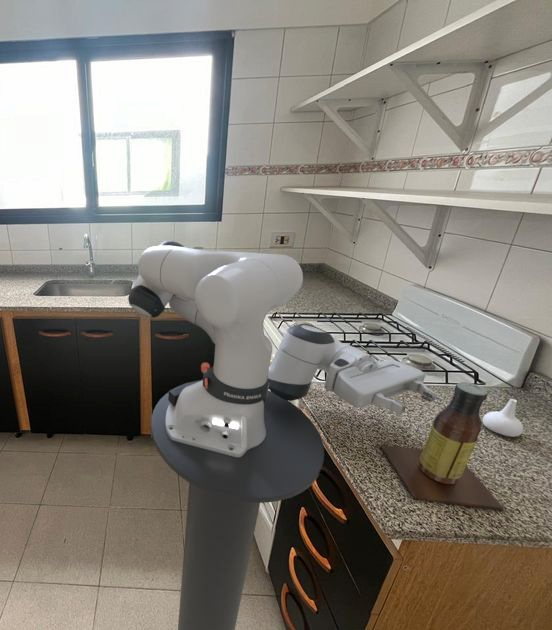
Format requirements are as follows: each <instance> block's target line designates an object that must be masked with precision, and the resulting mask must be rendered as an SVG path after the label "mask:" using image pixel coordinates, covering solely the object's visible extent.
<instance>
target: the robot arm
mask: <svg viewBox="0 0 552 630" xmlns="http://www.w3.org/2000/svg"><path fill="white" fill-rule="evenodd" d="M137 270H138V271H137V272H138V277H136V281H135V282H134V284H133V287H132V288H131V289H130V291H129V294H128V296H127V297H128V298H127V301H128V304H129V306H130V307H131V308H132V309H133V311H135V312H136V313H137V314H138V315H141V316H143V317H145V318H151V319H152V318H154V319H155V318H158V317H159V316H161V314H162V313H163V312H165V310H166V306H167V305H169V308H170V310H172V311H173V312H174V313H175V314H177V316H179V317H181V318H182V319H184V320H186V321H187V322H189V323H191V324H193V325H195V326H197V327H198V328H201V329H202V330H203V331H204V332H206V334H207V335H208V336H209V338H210V340H211V345H212V347H213V348H214V357H213V359H214V360H213V366H211V365H210V363H208V362H202V363H201V365H200V371H201V373H202V379H200V380H201V381H199V380H198V381H199V382H197V383H195V384H192V385H190V386H187V387H185V386H181V385H180V386H181V387H178V386H177V387H178V388H176V387H175V389H174V388H172V389H170V390H168V392H169V397H168V401H170V402H171V403H170V405H169V407H168V409H167V412H166V418H165V427H166V432H167V434H168V436H169V437H170V439H171V440H173V441H177V442H180V443H184V444H188V445H192V446H195V447H199V448H203V449H207V450H210V451H214V452H218V453H222V454H226V455H229V456H233V457H241V456H243V455H244V454H245V453H246V451H247V450H249V449H251V448H253V447H256V446H257V445H259V444H260V443H262V441H263V440H264V438H265V436H266V429H265V424H264V403H265V401H266V397H267V395H268V390H269V391H271V392H273V393H274V394H275V395H277V396H279V397H280V398H282V399H285V400H288V401H289V402H292V401H297V400H300V399H302V398H305V397H307V395H308V393H309V390H310V388H311V385H312V381H313V379H314V377H315V375H316V373H317V371H318V370H320V371H323V372H325V373H326V377H325V382H324V389H325V390H326V391H328V392H331V393H334V395H335V396H336V397H338V398H340V399H341V400H342V401H344V402H346V403H347V404H349V405H351V406H353V407H357V408H365V407H368V406H370V405H375V406H377V407H379V408H383V409H386V410H387V409H388V410H391V411H393V412H394V413H396V414H402V413H404V412H405V411H406V409H407V405H406V404H405V403H404V402H401V401H400V400H398V399H396V400H393V399H391V398H393V397H396V396H399V395H401V394H404V393H407V392H410V391H412V392H414V393H418V394H420V395H421V396H420V398H421V399H423V400H425V401H427V402H433V401H435V400H436V399H437V397H438V393H437V392H435V391H434V390H431V389H430V388H428V387H427V386H426V384H425V383H424V381H425V378H426V374H425V372H423V370H421V369H419V368H416V367H414V366H412V365H408V364H406V363H405V362H401V361H398V360H394V359H385V360H383V359H380V360H378V361H376V360H375V357H374V356H373V355H371V354H369V353H367V352H365V351H363V350H362V349H359V348H357V347H355V346H353V345H350V344H345V343H343V342H342V341H340V339H338V338H336V337H335V336H332V334H331V333H330V332H328V331H326V330H324V329H322V328H320V327H317V326H315V325H312V324H310V323H299V324H296V325H292V326H291V327H288V328H287V329H286V331H285V333H284V334H283V337H282V339H281V341H280V343H279V345H278V349H277V351H276V352H275V355H274V357H273V359H272V354H273V344H272V341H271V340H270V339H269V337H268V336H266V335H265V328H264V323H265V319H266V316H267V315H268V313H270V312H271V311H274V310H276V309H278V308H280V307H282V306H284V305H286V304H287V303H289V302H290V300H292V299H293V298H294V297H295V296H296V295H297V293H298V292H299V291H300V290H301V288H302V285H303V281H304V274H303V270H302V267H301V266H300V264H299V262H298V261H297V260H295V258H293V257H291V256H290V255H287V254H281V253H263V252H247V251H246V252H245V251H223V250H219V251H217V250H204V249H197V248H191V247H185V246H184V245H182V244H181V243H179V242H177V241H174V240H164V241H162V242H161V243H160V244H159V245H156V246H155V245H154V246H150V247H148V248H146V249H145V250H144V251H143V252H142V253H141V255H140V257H139V259H138V263H137ZM271 360H272V361H271Z"/></svg>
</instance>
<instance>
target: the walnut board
mask: <svg viewBox="0 0 552 630" xmlns="http://www.w3.org/2000/svg"><path fill="white" fill-rule="evenodd" d="M380 449H381V451H382V452H383V453H384V455H385V457H386V458H387V459H388V461H389V463H390V465H391V466H392V468H393V469H394V471H395V472H396V474H397V475H398V476H399V478H400V480H401V482H402V483H403V484H404V486H405V488H406V489H407V491H408V492H409V494H410V496H411V497H412V498H413V500H414V499H415V500H420V501H429V502H436V503H444V504H451V505H459V506H465V507H473V508H481V509H482V508H483V509H489V510H497V511H503V510H504V508H505V507H504V506H503V505H502V504H501V503H500V502H499V501H498V500H497V498H496V497H495V496H494V495H493V494H492V493H491V492H490V491H489V489H488V488H486V486H485V485H484V484H483V483H482V482H481V481H480V479H479V478H478V477H477V476H476V475H475V473H474V472H472V470H471V469H470V468H469V467H468V466H467V465H466V467H465V470H464V472H463V474H462V476H461V477H460V478H459V481H458V482H457V483H455V484H444V483H441V482H438V481H436V480H433V479H431V478H429V477H428V476H427V475H426V474H425V473H424V472H423V471H422V470H421V468H420V466H419V464H420V456H421V454H422V451H423V449H416V448H407V447H400V446H389V445H381V446H380Z"/></svg>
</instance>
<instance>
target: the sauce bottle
mask: <svg viewBox="0 0 552 630" xmlns="http://www.w3.org/2000/svg"><path fill="white" fill-rule="evenodd" d="M488 394H489V392H488V390H487V389H486V388H484V387H482V386H481V385H478V384H475V383H472V382H467V381H459V382H458V383H456V385H455V386H454V393H453V396H452V398H451V400H450V401H449V404H448V405H446V407H445V408H444V409H443V410H441V411H439V413H438V414H437V415H436V416H435V418H434V419H433V422H432V425H431V428H430V430H429V433H428V435H427V438H426V441H425V443H424V447H423V449H422V450H423V451H422V454H421V456H420V464H419V466H420V468H421V470H422V471H423V472H424V473H425V474H426V475H427V476H428V477H429V478H431V479H433V480H436V481H438V482H441V483H444V484H455V483H457V482H458V481H459V478H460V477H461V476H462V474H463V472H464V470H465V467H466V466H467V465H468V463H469V460H470V458H471V455H472V454H473V452H474V449H475V447H476V445H477V442H478V440H479V436H480V433H481V431H482V425H483V421H482V419H481V416H480V409H481V407H482V405H483V403H484V401H486V400H487V398H488Z"/></svg>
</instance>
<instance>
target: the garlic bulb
mask: <svg viewBox="0 0 552 630" xmlns="http://www.w3.org/2000/svg"><path fill="white" fill-rule="evenodd" d="M517 403H518V400H517V399H515V398H509V400H508V402H507V403H506V404H505V406H504V407H503V408H502V409H501V410H500V411H496V410H495V411H490V412H487V413H486V414H484V415H483V417H482V425H483V426H485V428H486V429H488V430H490V431H492V432H494V433H496V434H499V435H501V436H505V437H513V438H515V437H519V436H521V435H522V434H523V433H524V425H523V422H521V420H519V418H517V417H516V408H517Z"/></svg>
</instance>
